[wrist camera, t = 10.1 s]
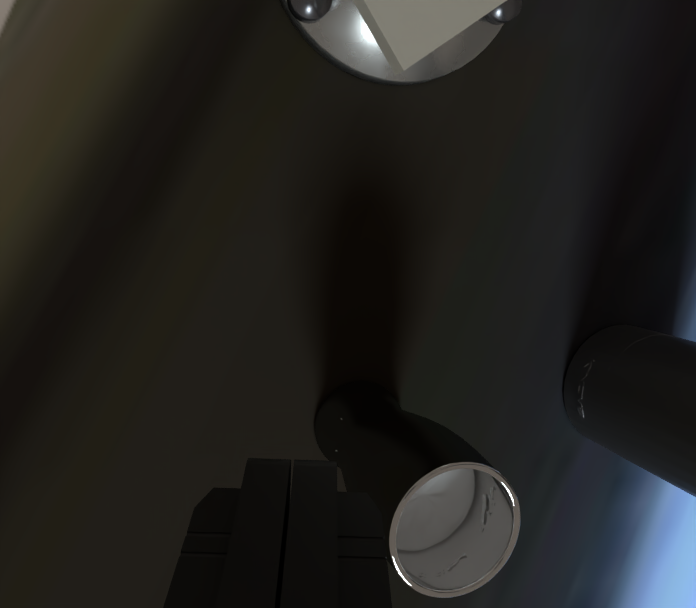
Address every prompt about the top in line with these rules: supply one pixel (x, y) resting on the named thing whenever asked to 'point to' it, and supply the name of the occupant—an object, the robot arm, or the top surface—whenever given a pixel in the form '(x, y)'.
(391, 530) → the beer glass
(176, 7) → the top surface
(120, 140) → the top surface
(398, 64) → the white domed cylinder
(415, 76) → the base
